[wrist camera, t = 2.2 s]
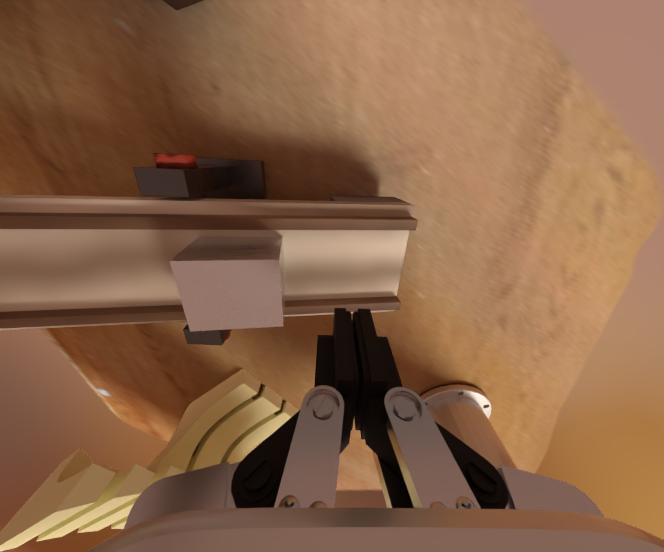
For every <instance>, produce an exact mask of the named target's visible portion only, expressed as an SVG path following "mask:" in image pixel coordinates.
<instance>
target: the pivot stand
mask: <svg viewBox="0 0 664 552" xmlns="http://www.w3.org/2000/svg"><path fill="white" fill-rule="evenodd" d="M153 157H154V160H155V164H156V166H152V167H133V169H134V173H135V176H136V179H137V182H138V185H139V189H140V192H141V195H149V196H171V197H181V198H209V199H256V200H266V187H265V175H264V162H263V161H256V160H234V159H213V158H196V157H195V155H187V154H164V153H153ZM183 331H184V334H185V337H186V340H187V343H188V344H205V345H223V343H224V341H225V340H227V339H228V338H229V336H230V331H231V329H227V330H208V331H190V330H189V326H188V324H187V326H186V327H185V328H184V329H183Z"/></svg>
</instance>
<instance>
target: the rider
mask: <svg viewBox="0 0 664 552" xmlns="http://www.w3.org/2000/svg"><path fill="white" fill-rule="evenodd" d="M169 262H170V265H171V268H172V272H173V275H174V279H175V282H176V285H177V289H178V292H179V296H180V299H181V302H182V306H183V309H184V313H185V316H186V319H187V323H188V326H189V330H190V331H208V330H227V329H245V328H263V327H282V326H284V313H285V298H286V286H285V267H284V249H283V237H198V238H197V239H195V240H194V241H193V242H192V243H191V244H189V245H188V246H187V247H186V248H185V249H183V250H182V251H181V252H180V253H179V254H177V255H176V256H175V257H174V258H173V259H171V260H170V261H169Z"/></svg>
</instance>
